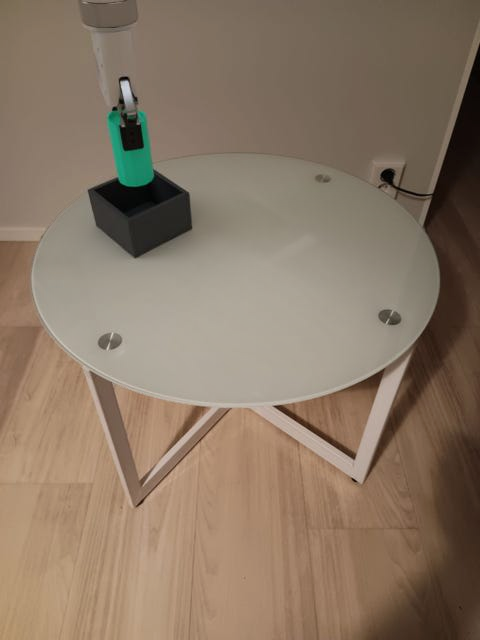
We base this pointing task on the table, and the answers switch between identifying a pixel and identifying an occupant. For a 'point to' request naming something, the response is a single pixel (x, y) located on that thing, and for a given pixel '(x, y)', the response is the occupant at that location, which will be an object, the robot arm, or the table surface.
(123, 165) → the candle
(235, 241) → the table surface
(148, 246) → the bin
